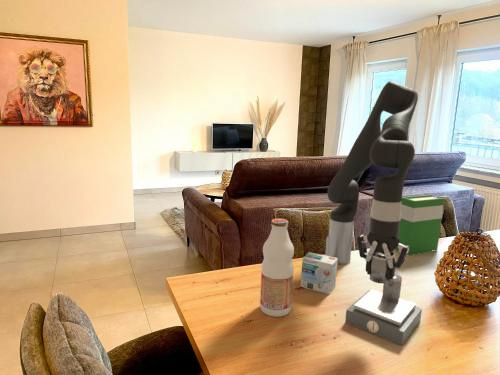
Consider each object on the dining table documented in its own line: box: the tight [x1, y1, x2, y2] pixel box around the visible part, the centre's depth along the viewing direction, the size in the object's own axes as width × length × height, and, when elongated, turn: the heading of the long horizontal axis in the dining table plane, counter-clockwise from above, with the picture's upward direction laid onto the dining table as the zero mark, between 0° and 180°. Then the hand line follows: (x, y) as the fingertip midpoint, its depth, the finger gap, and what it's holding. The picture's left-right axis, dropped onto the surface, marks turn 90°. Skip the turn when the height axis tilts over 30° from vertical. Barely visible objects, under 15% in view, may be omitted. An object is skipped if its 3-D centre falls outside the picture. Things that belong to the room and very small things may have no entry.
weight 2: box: [382, 273, 403, 303], centre depth 110 cm, size 5×5×7 cm
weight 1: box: [369, 253, 389, 284], centre depth 101 cm, size 5×5×7 cm
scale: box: [344, 290, 423, 346], centre depth 108 cm, size 16×16×4 cm
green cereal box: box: [394, 194, 446, 256], centre depth 164 cm, size 18×7×24 cm, turn 114°
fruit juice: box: [259, 218, 295, 318], centre depth 110 cm, size 9×9×28 cm
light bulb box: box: [300, 251, 338, 295], centre depth 128 cm, size 11×7×11 cm, turn 62°
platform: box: [353, 288, 417, 326], centre depth 108 cm, size 13×13×1 cm
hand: (379, 276), depth 102 cm, fingers closed on weight 1, 4 cm apart
